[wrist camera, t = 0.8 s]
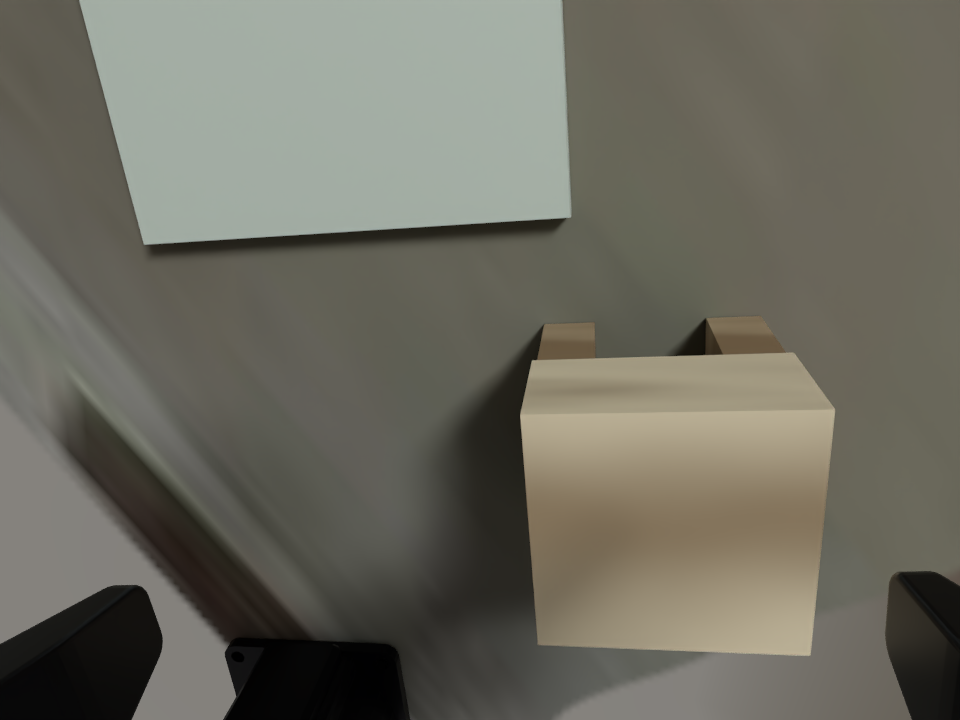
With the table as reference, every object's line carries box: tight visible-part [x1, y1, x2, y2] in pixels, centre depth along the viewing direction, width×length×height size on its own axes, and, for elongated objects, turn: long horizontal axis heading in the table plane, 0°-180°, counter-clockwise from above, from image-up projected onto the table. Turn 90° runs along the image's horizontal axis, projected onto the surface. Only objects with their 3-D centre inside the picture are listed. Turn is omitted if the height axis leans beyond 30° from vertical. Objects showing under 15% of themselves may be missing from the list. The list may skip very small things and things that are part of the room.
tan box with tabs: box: [520, 316, 835, 656], centre depth 18 cm, size 6×6×6 cm
